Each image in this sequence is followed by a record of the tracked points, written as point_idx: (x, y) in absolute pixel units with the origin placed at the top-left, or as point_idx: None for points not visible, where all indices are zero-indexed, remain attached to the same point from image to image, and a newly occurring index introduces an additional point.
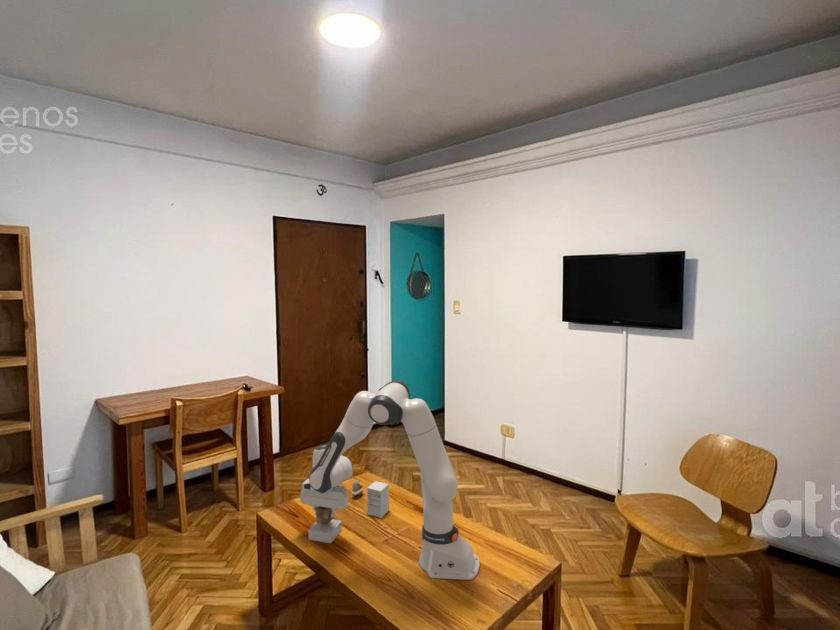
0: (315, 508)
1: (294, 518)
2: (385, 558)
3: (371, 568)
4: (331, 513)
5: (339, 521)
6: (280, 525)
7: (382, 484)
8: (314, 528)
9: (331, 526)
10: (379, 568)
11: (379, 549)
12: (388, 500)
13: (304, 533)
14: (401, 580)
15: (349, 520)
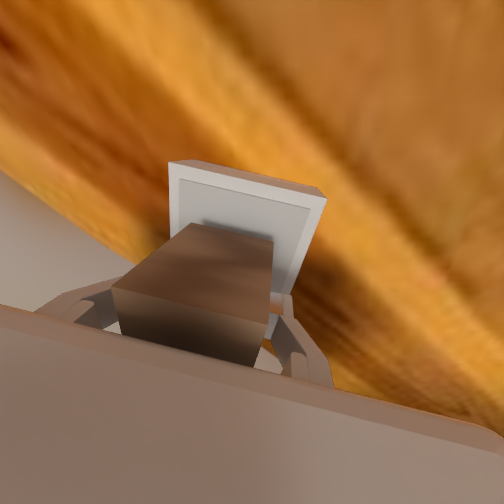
0: (110, 315)
1: (18, 81)
2: (488, 358)
3: (422, 383)
4: (275, 348)
5: (313, 210)
6: (19, 165)
7: None
8: None
9: (273, 268)
10: (448, 385)
11: (484, 321)
12: None
13: (154, 223)
14: (499, 418)
15: (363, 60)
